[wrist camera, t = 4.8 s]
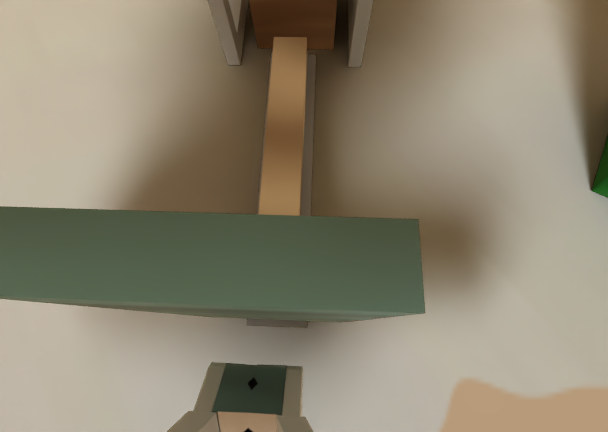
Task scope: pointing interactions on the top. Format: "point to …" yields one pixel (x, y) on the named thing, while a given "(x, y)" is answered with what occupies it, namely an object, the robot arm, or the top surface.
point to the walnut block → (294, 21)
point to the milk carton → (602, 174)
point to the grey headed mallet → (231, 26)
